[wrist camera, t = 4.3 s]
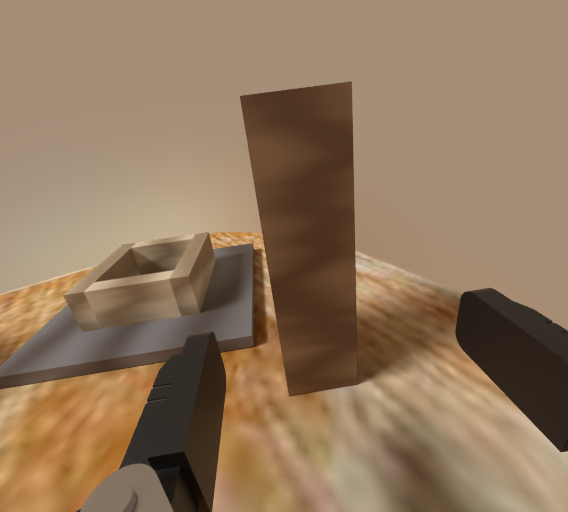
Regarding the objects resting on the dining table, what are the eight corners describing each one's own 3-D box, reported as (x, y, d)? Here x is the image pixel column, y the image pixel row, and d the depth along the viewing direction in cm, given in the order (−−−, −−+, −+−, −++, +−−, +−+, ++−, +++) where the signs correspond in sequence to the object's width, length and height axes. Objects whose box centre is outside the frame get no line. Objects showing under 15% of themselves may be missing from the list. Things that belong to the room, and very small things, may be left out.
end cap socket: (-6, 389, 19) (-46, 338, 17) (113, 271, 36) (100, 238, 34) (254, 346, 20) (242, 292, 18) (254, 250, 36) (247, 217, 34)
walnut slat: (289, 396, 16) (239, 95, 10) (281, 337, 20) (244, 107, 14) (357, 384, 16) (351, 81, 10) (334, 328, 21) (321, 98, 15)
